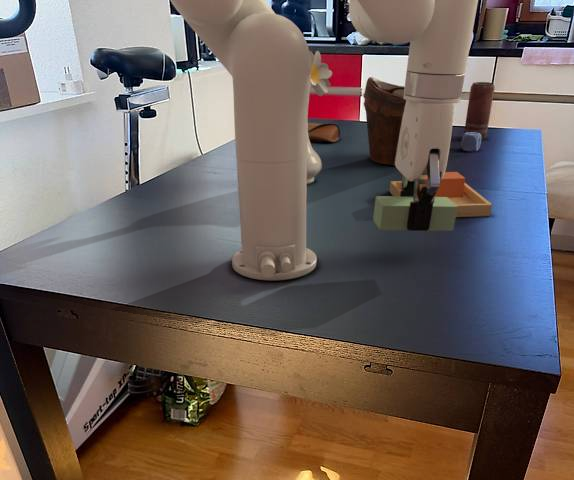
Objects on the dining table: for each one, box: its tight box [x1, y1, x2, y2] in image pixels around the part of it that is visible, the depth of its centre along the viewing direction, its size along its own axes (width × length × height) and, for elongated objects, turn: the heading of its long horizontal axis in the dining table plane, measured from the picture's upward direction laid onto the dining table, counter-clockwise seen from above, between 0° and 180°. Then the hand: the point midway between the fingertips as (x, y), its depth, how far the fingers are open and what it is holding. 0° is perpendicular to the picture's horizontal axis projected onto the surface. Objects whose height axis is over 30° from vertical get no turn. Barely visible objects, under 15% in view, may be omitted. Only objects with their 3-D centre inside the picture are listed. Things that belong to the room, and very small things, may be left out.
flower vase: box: [307, 50, 333, 185], centre depth 119 cm, size 13×18×25 cm
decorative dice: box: [460, 132, 482, 153], centre depth 148 cm, size 4×4×4 cm
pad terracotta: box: [401, 171, 466, 197], centre depth 113 cm, size 5×11×4 cm, turn 94°
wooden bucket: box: [363, 76, 407, 167], centre depth 136 cm, size 18×20×18 cm
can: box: [463, 81, 495, 141], centre depth 158 cm, size 6×6×14 cm
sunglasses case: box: [308, 122, 341, 143], centre depth 163 cm, size 18×7×7 cm
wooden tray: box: [389, 180, 493, 218], centre depth 110 cm, size 18×15×2 cm
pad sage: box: [372, 195, 458, 232], centre depth 85 cm, size 5×11×4 cm, turn 94°
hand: (412, 222), depth 86 cm, fingers closed on pad sage, 5 cm apart
